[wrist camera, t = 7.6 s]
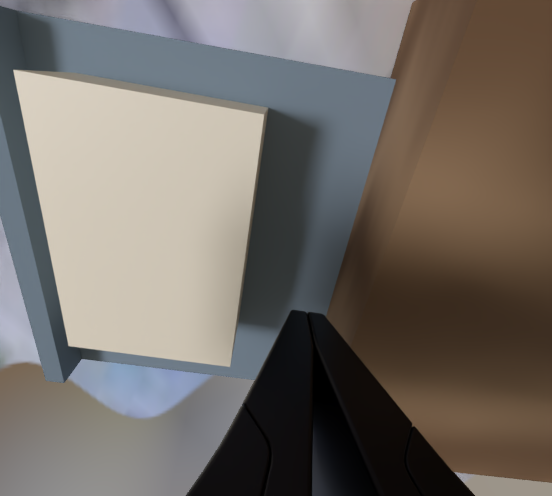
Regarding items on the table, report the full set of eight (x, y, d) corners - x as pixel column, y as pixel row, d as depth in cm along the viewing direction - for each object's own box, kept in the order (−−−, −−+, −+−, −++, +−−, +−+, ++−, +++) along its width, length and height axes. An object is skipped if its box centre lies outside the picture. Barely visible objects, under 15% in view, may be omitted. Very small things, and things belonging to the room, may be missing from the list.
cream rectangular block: (68, 345, 12) (103, 303, 14) (230, 367, 12) (238, 322, 14) (13, 69, 7) (75, 72, 10) (264, 114, 8) (268, 107, 10)
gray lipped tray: (304, 376, 17) (307, 411, 15) (72, 347, 16) (45, 380, 14) (390, 79, 10) (413, 78, 8) (3, 9, 9) (-61, -8, 8)
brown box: (518, 403, 17) (579, 486, 14) (304, 376, 17) (310, 456, 13) (780, 75, 10) (1062, 70, 6) (412, 2, 9) (494, -48, 6)
